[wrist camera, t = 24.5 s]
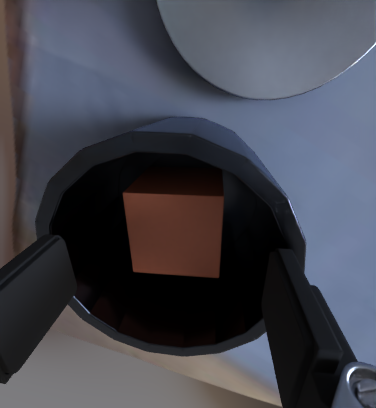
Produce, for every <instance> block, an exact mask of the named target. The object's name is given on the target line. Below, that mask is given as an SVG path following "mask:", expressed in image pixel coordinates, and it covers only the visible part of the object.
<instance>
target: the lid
mask: <svg viewBox="0 0 376 408" xmlns="http://www.w3.org/2000/svg"><path fill="white" fill-rule="evenodd" d="M156 2H157V6H158V10H159V13H160V16H161V18H162V21H163V24H164V26H165V29H166V31H167V33H168V35H169V37H170V39H171V41H172V43H173V44H174V46H175V47H176V49H177V50H178V52H179V53H180V55H181V56H182V58H183V59H184V60H185V61H186V63H187V64H188V65H189V66H190V67H191V68H192V70H193V71H195V72H196V73H197V74H198V75H199V76H200V77H201V78H202V79H204V80H205V81H206V82H208V83H209V84H211V85H212V86H214V87H215V88H217V89H219V90H222V91H224V92H226V93H228V94H231V95H234V96H238V97H241V98H246V99H253V100H275V99H282V98H289V97H292V96H296V95H300V94H303V93H306V92H308V91H311V90H313V89H316V88H318V87H320V86H322V85H324V84H326V83H327V82H329V81H331V80H333V79H335V78H336V77H338V76H339V75H340V74H342V73H343V72H345V71H346V70H348V69H349V68H350V67H352V66H353V65H354V64H355V63H356V62H357V61H359V60H360V59H361V58H362V57H363V56H364V55H366V54H367V53H368V52H369V50H370V49H371V48H372V47H373V46H374V45H375V44H376V0H156Z"/></svg>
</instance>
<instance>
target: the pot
mask: <svg viewBox="0 0 376 408" xmlns="http://www.w3.org/2000/svg"><path fill="white" fill-rule="evenodd" d="M148 167H191V168H220V169H222V177H223V188H224V209H223V225H222V241H221V257H220V273H219V278H210V277H196V276H182V275H169V274H155V273H141V272H133V265H132V258H131V251H130V243H129V236H128V229H127V221H126V214H125V207H124V199H123V192H124V191H125V190H126V189H127V188H128V187H129V186H130V185H131V184H132V183H133V182H134V181H135V180H136V179H137V178H138V177H139V176H140V175H141V174H142V173H143V172H144V171H145V170H146V169H147V168H148ZM35 226H36V236H37V240H38V239H39V238H40V237H42V236H43V235H59V236H61V238H62V239H64V241H65V243H66V247H67V250H68V254H69V258H70V261H71V265H72V268H73V272H74V276H75V279H76V283H77V291H76V293H75V295H74V296H73V297H72V299H71V300H70V302H69V303H68V305H69V306H70V307H71V308H72V309H73V311H74V312H75V313H76V314H77V315H78V316H79V317H80V318H82V319H83V320H84V321H86V322H87V323H89V324H90V325H92V326H93V327H95V328H96V329H98V330H100V331H101V332H103V333H104V334H106V335H107V336H109V337H110V338H113V339H114V340H116V341H119V342H122V343H125V344H127V345H130V346H133V347H136V348H138V349H141V350H144V351H148V352H153V353H161V354H168V355H176V356H196V355H206V354H216V353H221V352H225V351H227V350H230V349H233V348H235V347H238V346H241V345H243V344H246V343H249V342H251V341H254V340H255V339H258V338H259V337H260V336H262V335H263V334H264V333H265V332H266V327H265V323H264V318H263V313H262V306H261V303H262V296H263V290H264V284H265V279H266V273H267V267H268V261H269V256H270V252H275V249H276V248H279V249H291V250H293V252H294V254H295V256H296V258H297V260H298V262H299V264H300V266H301V268H302V270H303V272H304V269H305V255H306V240H305V237H304V235H303V232H302V230H301V227H300V225H299V222H298V220H297V217H296V215H295V212H294V210H293V207H292V205H291V202H290V200H289V198H288V197H287V195H286V194H285V192H284V191H283V190H282V188H281V187H280V186H279V184H278V183H277V182H276V180H275V179H274V178H273V176H272V175H271V174H270V172H269V171H268V170H267V168H266V167H265V166H264V164H263V163H262V162H261V160H260V159H259V158H258V156H257V155H256V154H255V152H254V151H253V150H252V149H251V148H250V147H249V146H248V145H247V144H246V143H245V142H244V141H243V140H242V139H241V138H240V137H239V136H238V135H237V134H236V133H235V132H233V131H232V130H230V129H227V128H226V127H224V126H221V125H219V124H217V123H215V122H212V121H209V120H207V119H204V118H194V117H169V118H167V119H164V120H161V121H158V122H155V123H152V124H150V125H147V126H144V127H141V128H138V129H135V130H132V131H130V132H127V133H124V134H121V135H119V136H116V137H113V138H110V139H107V140H105V141H102V142H99V143H96V144H93V145H91V146H88V147H85V148H83V149H82V150H79V151H78V152H77V153H76V154H75V155H74V156H73V157H72V158H71V159H70V160H69V161H68V162H67V163H66V164H65V165H64V166H63V167H62V168H61V169H60V170H59V171H58V172H57V173H56V174H55V175H54V176H53V177H52V178H51V179H50V180H49V182H48V184H47V186H46V189H45V192H44V195H43V198H42V201H41V204H40V207H39V210H38V213H37V216H36V221H35Z"/></svg>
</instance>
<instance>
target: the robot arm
mask: <svg viewBox="0 0 376 408" xmlns="http://www.w3.org/2000/svg"><path fill="white" fill-rule="evenodd" d="M76 291H77V283H76V279H75V276H74V272H73V268H72V265H71V261H70V258H69V254H68V250H67V247H66V243H65V241H64V239H62V238H61V236H59V235H43V236H42V237H40V238H39V239H38V240H37V241H35V242H34V243H33V244H31V245H30V246H29V247H28V248H26V249H25V250H24V251H22V252H21V253H20V254H19V255H17V256H16V257H15V258H13V259H12V260H11V261H10V262H8V263H7V264H6V265H4V266H3V267H2V268H1V269H0V383H3V384H6V383H7V382H8V380H9V379H10V378H11V376H12V375H13V374H14V373H16V372H18V371H19V370H20V368H21V367H22V366H23V364H24V363H25V362H26V360H27V359H28V357H29V356H30V355H31V353H32V352H33V351H34V349H35V348H36V347H37V345H38V344H39V342H40V341H41V340H42V338H43V337H44V336H45V334H46V333H47V331H48V330H49V329H50V327H51V326H52V325H53V323H54V322H55V321H56V319H57V318H58V317H59V315H60V314H61V312H62V311H63V310H64V308H65V307H66V306H67V304H68V303H69V302H70V300H71V299H72V297H73V296H74V295H75V293H76ZM261 306H262V313H263V318H264V323H265V327H266V332H267V337H268V342H269V346H270V351H271V356H272V360H273V365H274V370H275V374H276V379H277V384H278V389H279V393H280V398H281V403H282V406H283V408H376V367H375V366H373V365H371V364H367V363H363V362H358V361H357V359H356V357H355V355H354V353H353V352H352V350H351V348H350V346H349V344H348V342H347V340H346V338H345V337H344V335H343V333H342V331H341V329H340V327H339V325H338V324H337V322H336V320H335V318H334V316H333V314H332V312H331V311H330V309H329V307H328V305H327V303H326V301H325V299H324V298H323V296H322V294H321V292H320V290H319V289H318V287H316V286H313V285H310V284H309V282H308V280H307V278H306V276H305V274H304V272H303V270H302V268H301V266H300V264H299V262H298V260H297V258H296V256H295V254H294V252H293V250H291V249H279V248H276V249H275V252H270V256H269V261H268V267H267V273H266V279H265V284H264V290H263V296H262V303H261Z"/></svg>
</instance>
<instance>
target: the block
mask: <svg viewBox="0 0 376 408" xmlns="http://www.w3.org/2000/svg"><path fill="white" fill-rule="evenodd" d="M123 199H124V207H125V214H126V221H127V229H128V236H129V243H130V251H131V258H132V265H133V272H141V273H155V274H169V275H182V276H196V277H210V278H219V273H220V257H221V241H222V225H223V209H224V188H223V177H222V169H220V168H191V167H148V168H147V169H146V170H145V171H144V172H143V173H142V174H141V175H140V176H139V177H138V178H137V179H136V180H135V181H134V182H133V183H132V184H131V185H130V186H129V187H128V188H127V189H126V190H125V191H124V192H123Z"/></svg>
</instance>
